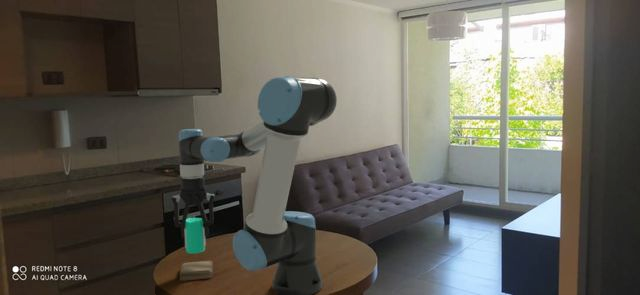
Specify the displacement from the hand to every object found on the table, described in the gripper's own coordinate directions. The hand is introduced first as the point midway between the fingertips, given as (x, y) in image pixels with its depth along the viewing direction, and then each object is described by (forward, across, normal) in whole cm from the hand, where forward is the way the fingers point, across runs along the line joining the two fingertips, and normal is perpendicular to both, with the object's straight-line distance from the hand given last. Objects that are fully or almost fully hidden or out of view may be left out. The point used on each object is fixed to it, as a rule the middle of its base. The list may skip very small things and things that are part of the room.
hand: (195, 246), depth 151 cm
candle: (+2, 0, 0) cm, 2 cm away
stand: (+9, 0, 0) cm, 9 cm away
